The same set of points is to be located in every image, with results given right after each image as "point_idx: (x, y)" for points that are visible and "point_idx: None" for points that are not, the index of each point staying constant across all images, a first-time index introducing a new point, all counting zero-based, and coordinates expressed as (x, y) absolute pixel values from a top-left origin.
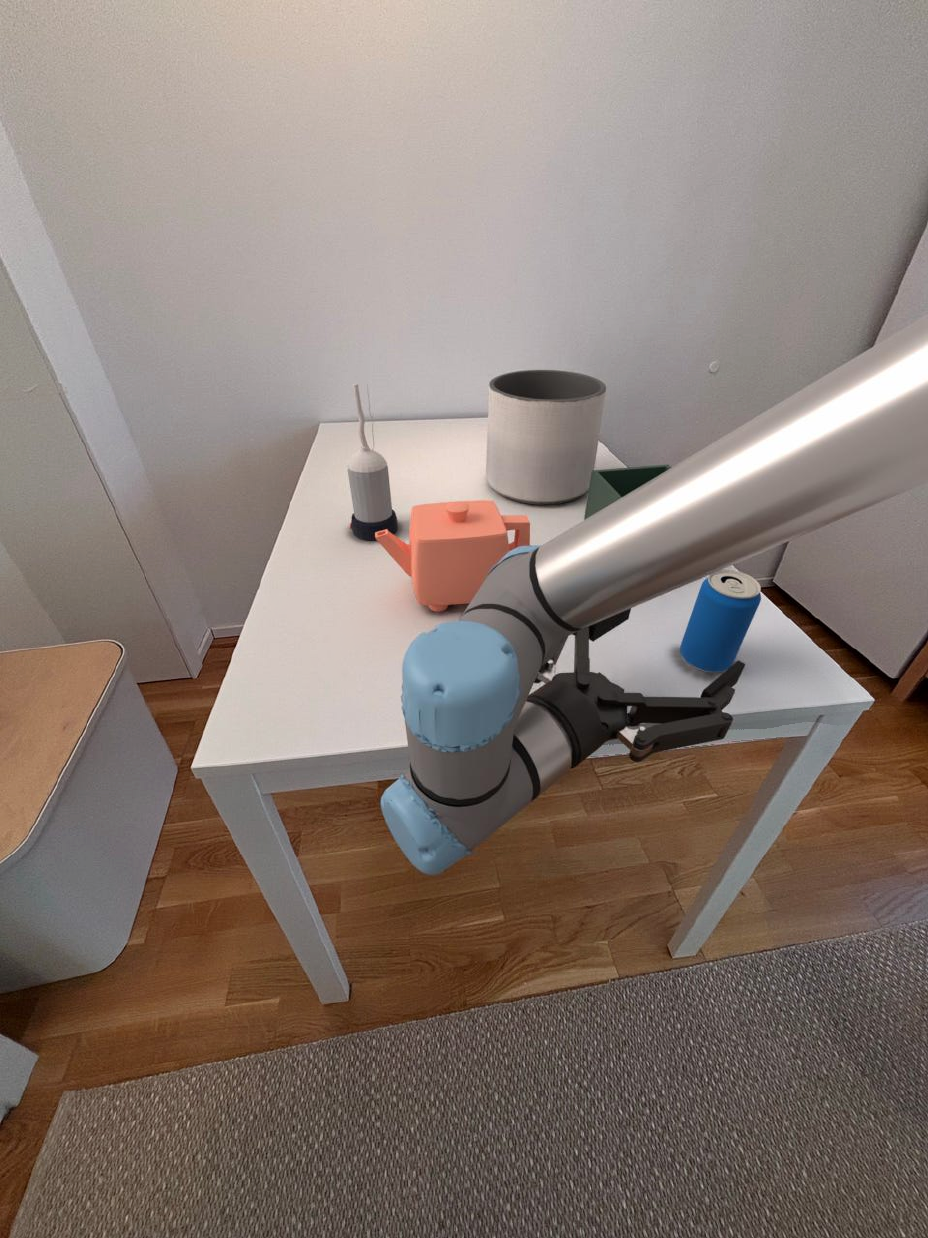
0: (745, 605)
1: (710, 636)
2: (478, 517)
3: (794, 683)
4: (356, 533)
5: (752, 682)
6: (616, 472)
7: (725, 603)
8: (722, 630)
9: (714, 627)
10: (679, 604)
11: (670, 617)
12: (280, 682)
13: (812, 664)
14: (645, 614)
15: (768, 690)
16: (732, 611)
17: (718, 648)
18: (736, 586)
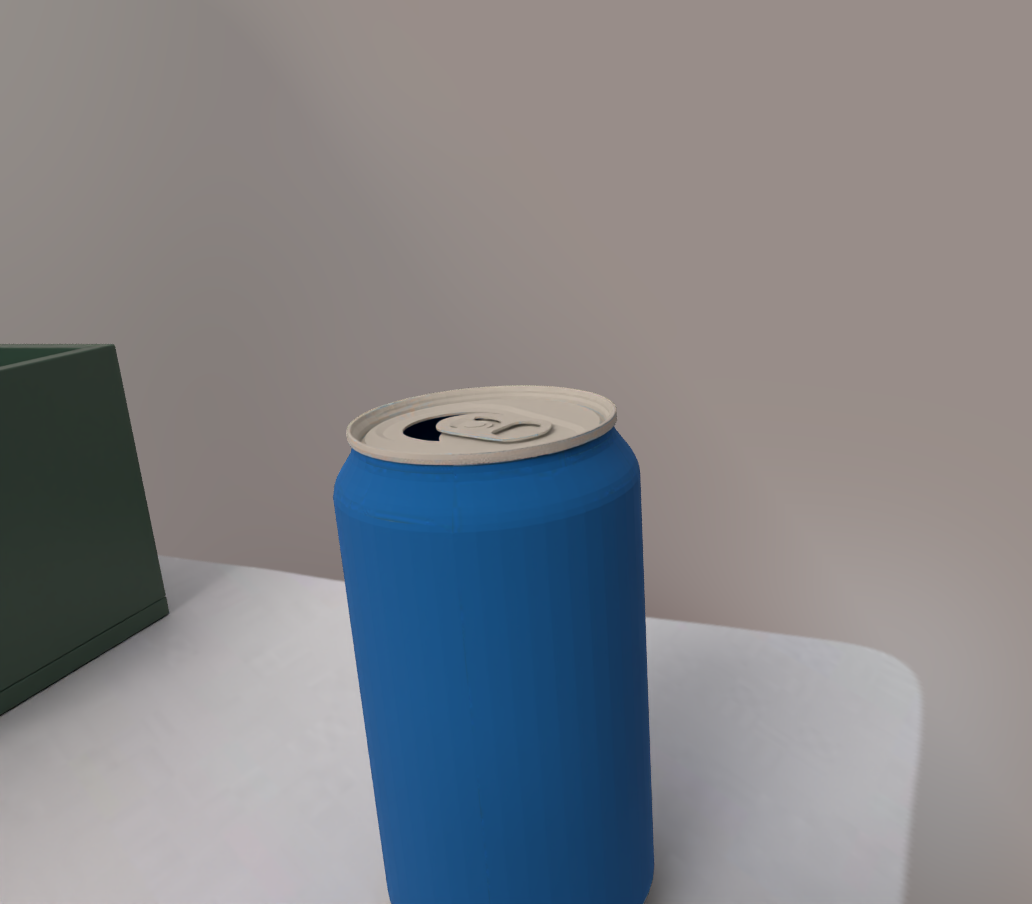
0: (622, 470)
1: (556, 744)
2: None
3: (812, 733)
4: None
5: (749, 834)
6: None
7: (548, 503)
8: (595, 670)
9: (554, 680)
10: (230, 742)
11: (236, 814)
12: None
13: (750, 650)
14: (114, 882)
15: (816, 819)
16: (596, 530)
17: (612, 781)
18: (503, 424)
